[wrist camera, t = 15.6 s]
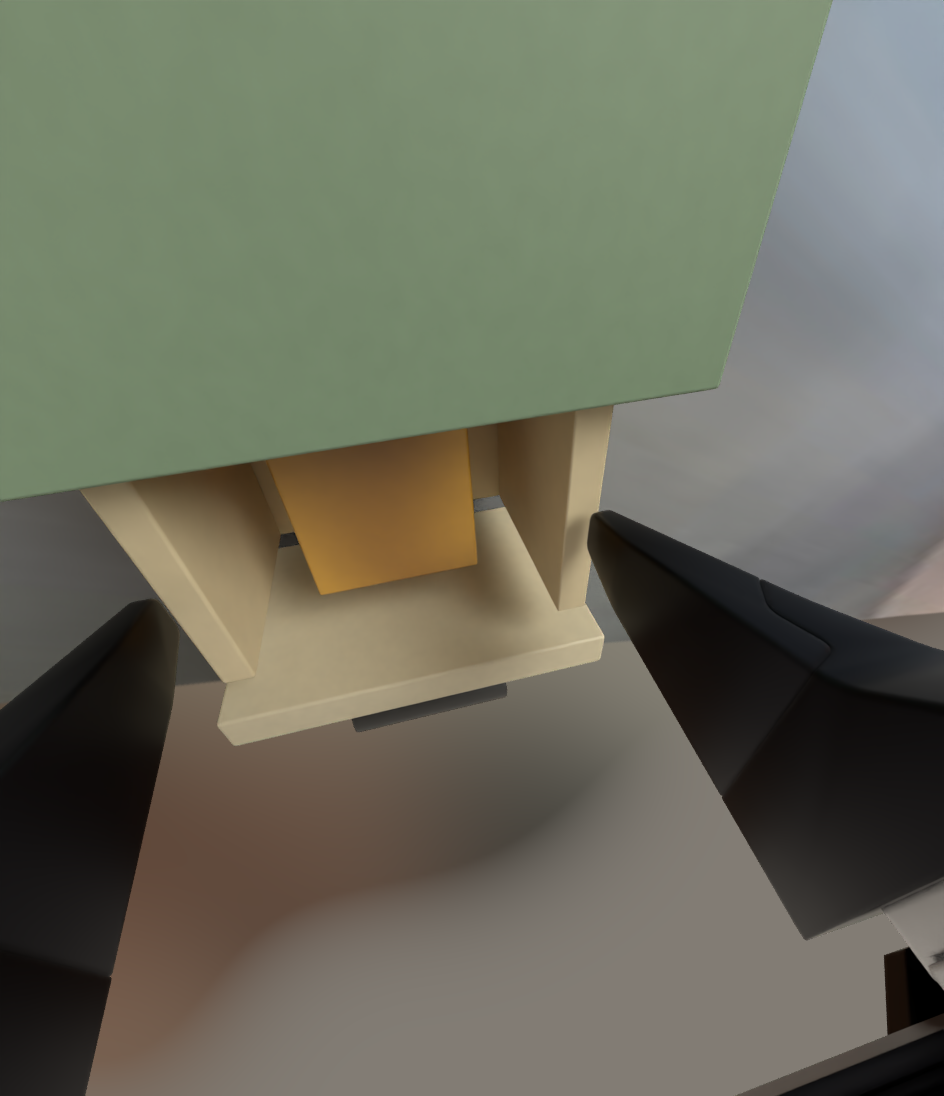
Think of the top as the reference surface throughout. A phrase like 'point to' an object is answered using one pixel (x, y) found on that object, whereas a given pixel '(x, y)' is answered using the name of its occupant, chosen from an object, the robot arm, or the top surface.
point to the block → (381, 509)
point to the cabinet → (370, 217)
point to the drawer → (375, 587)
